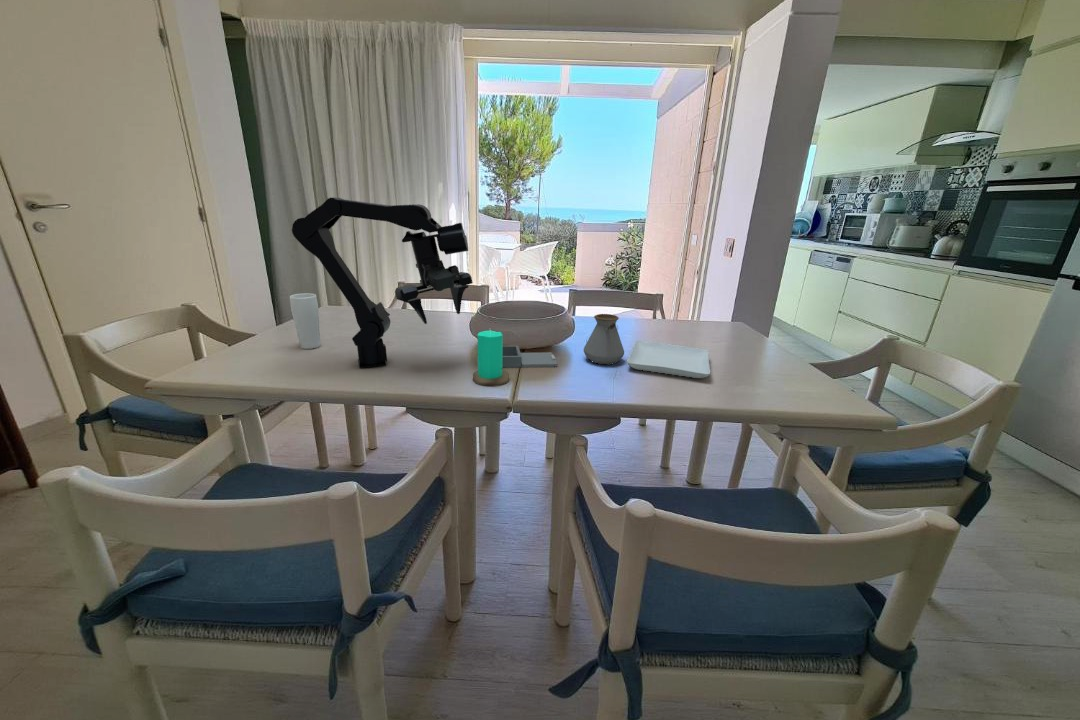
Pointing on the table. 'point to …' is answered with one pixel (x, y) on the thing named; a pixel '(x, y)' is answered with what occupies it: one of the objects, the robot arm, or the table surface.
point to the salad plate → (670, 359)
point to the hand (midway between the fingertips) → (442, 318)
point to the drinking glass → (306, 319)
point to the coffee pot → (604, 341)
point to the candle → (490, 354)
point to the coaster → (491, 382)
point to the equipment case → (526, 358)
